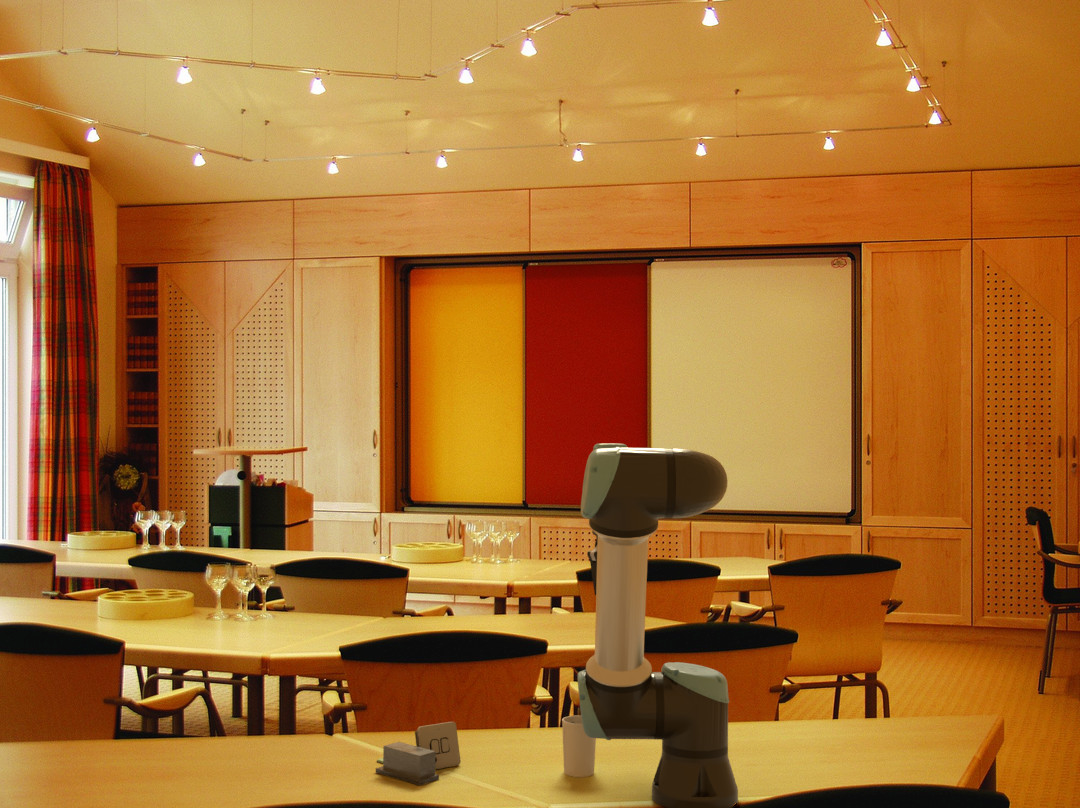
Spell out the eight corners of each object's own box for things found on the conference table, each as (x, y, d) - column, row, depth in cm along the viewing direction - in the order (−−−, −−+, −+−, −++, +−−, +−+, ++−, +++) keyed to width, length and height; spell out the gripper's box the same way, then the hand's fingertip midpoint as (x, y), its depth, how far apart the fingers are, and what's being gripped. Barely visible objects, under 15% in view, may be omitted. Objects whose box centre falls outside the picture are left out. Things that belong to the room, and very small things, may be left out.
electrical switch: (423, 772, 206) (422, 728, 207) (412, 769, 210) (411, 725, 211) (461, 766, 211) (460, 722, 212) (449, 762, 214) (448, 719, 215)
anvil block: (438, 779, 202) (439, 752, 202) (419, 785, 198) (419, 758, 198) (395, 766, 209) (395, 740, 210) (375, 772, 206) (376, 746, 206)
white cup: (567, 778, 203) (567, 725, 203) (557, 768, 209) (557, 716, 210) (601, 776, 205) (601, 723, 205) (590, 766, 211) (590, 714, 211)
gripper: (613, 514, 236) (613, 623, 234) (577, 516, 226) (576, 630, 224) (642, 516, 231) (641, 627, 230) (606, 518, 221) (605, 635, 220)
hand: (609, 629), depth 227 cm, fingers closed
